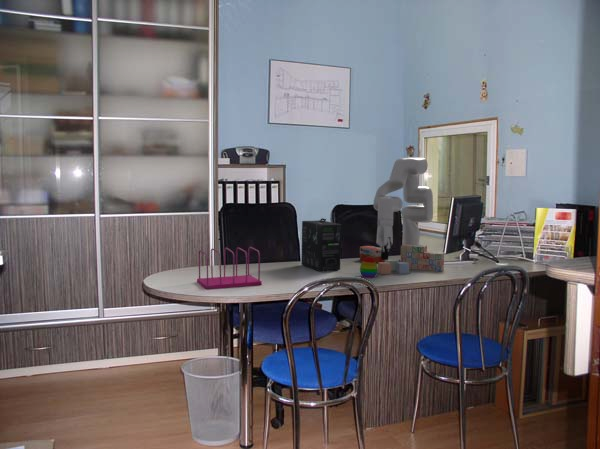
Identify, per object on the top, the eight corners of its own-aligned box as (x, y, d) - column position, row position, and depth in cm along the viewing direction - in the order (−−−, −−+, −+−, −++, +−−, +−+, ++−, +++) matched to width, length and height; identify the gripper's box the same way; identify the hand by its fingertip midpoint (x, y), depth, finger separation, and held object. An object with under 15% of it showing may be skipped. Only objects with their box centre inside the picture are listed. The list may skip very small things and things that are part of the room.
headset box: (341, 270, 276) (341, 219, 274) (320, 272, 271) (320, 220, 268) (320, 263, 296) (320, 216, 294) (300, 265, 291) (300, 217, 288)
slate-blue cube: (395, 272, 269) (395, 262, 269) (404, 271, 270) (404, 261, 270) (399, 273, 264) (399, 263, 264) (409, 273, 266) (409, 263, 265)
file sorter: (261, 285, 237) (261, 250, 236) (205, 289, 228) (205, 252, 226) (249, 278, 253) (249, 245, 252) (196, 282, 243) (196, 247, 242)
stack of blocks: (444, 270, 278) (444, 246, 277) (441, 272, 273) (441, 248, 272) (403, 266, 288) (404, 243, 287) (400, 268, 283) (400, 245, 282)
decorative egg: (358, 278, 254) (359, 257, 253) (361, 275, 262) (361, 255, 261) (376, 279, 252) (376, 258, 251) (378, 276, 260) (378, 255, 259)
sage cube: (384, 269, 277) (384, 259, 277) (393, 268, 279) (393, 259, 278) (388, 270, 273) (388, 261, 272) (397, 270, 274) (397, 260, 273)
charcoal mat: (367, 270, 277) (367, 269, 277) (397, 268, 281) (397, 268, 281) (378, 275, 261) (378, 274, 261) (411, 274, 265) (411, 273, 265)
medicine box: (386, 262, 301) (386, 248, 300) (374, 264, 297) (375, 249, 297) (370, 259, 314) (370, 245, 314) (358, 260, 311) (359, 246, 310)
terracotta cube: (377, 272, 268) (377, 262, 268) (387, 271, 269) (387, 262, 269) (381, 274, 263) (381, 264, 263) (391, 273, 264) (391, 263, 264)
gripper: (372, 221, 270) (371, 257, 272) (384, 223, 256) (383, 262, 257) (386, 221, 272) (385, 257, 274) (398, 223, 258) (397, 261, 259)
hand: (384, 259), depth 266 cm, fingers closed
